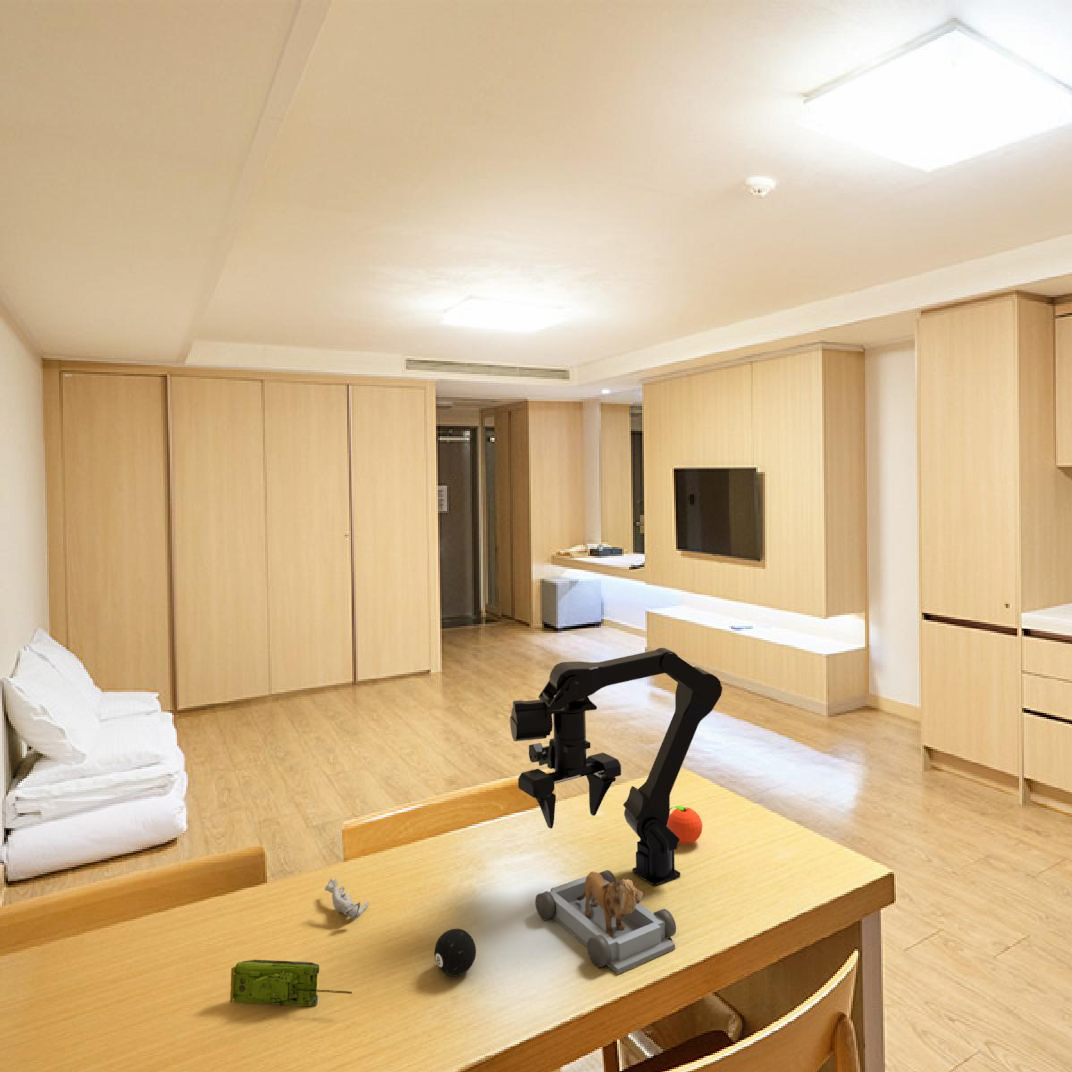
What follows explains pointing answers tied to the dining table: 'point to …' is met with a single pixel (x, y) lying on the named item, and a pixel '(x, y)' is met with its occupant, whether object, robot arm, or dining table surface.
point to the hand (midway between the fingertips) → (571, 821)
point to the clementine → (685, 824)
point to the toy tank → (275, 983)
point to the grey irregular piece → (344, 901)
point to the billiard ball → (455, 952)
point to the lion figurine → (610, 899)
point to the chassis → (625, 946)
